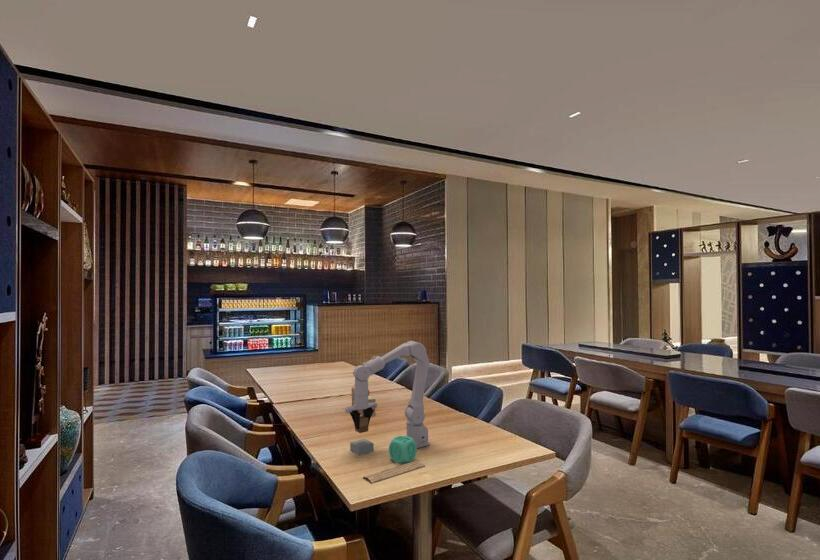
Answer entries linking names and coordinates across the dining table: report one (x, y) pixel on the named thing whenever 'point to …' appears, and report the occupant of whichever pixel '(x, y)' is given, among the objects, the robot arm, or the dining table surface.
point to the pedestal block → (361, 446)
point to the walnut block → (362, 424)
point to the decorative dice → (402, 449)
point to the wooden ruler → (395, 471)
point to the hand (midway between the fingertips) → (361, 427)
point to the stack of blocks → (370, 400)
